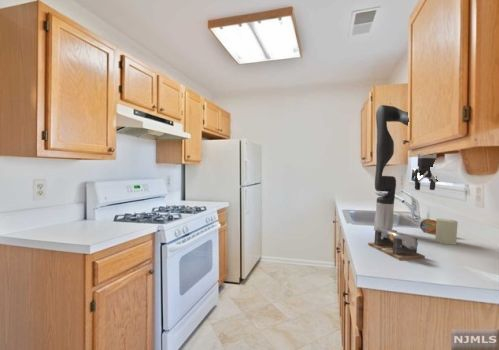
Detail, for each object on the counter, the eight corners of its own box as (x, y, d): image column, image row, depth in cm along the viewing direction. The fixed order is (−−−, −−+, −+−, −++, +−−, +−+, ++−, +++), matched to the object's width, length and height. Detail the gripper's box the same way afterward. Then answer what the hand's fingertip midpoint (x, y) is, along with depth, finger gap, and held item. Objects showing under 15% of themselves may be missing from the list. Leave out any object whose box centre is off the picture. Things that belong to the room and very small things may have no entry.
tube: (375, 236, 131) (376, 226, 131) (384, 236, 132) (385, 226, 132) (407, 250, 112) (408, 238, 111) (417, 250, 113) (418, 238, 113)
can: (457, 245, 134) (459, 222, 133) (435, 242, 139) (437, 219, 138) (455, 241, 142) (456, 219, 141) (434, 238, 147) (435, 216, 146)
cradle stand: (367, 245, 131) (368, 229, 130) (390, 244, 133) (391, 228, 133) (398, 260, 111) (399, 241, 111) (424, 258, 114) (425, 240, 113)
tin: (419, 231, 161) (420, 217, 161) (421, 230, 163) (422, 217, 162) (448, 237, 149) (449, 223, 148) (450, 237, 150) (451, 222, 150)
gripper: (432, 157, 136) (430, 189, 137) (408, 157, 133) (406, 189, 134) (445, 157, 129) (443, 190, 130) (421, 156, 126) (418, 190, 127)
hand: (424, 189), depth 132 cm, fingers open, 8 cm apart
